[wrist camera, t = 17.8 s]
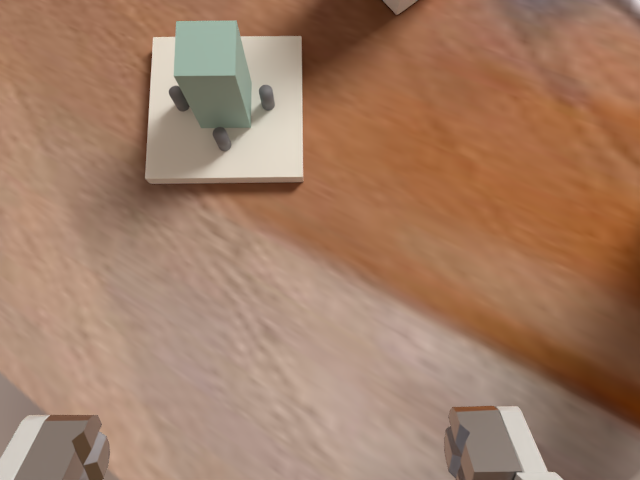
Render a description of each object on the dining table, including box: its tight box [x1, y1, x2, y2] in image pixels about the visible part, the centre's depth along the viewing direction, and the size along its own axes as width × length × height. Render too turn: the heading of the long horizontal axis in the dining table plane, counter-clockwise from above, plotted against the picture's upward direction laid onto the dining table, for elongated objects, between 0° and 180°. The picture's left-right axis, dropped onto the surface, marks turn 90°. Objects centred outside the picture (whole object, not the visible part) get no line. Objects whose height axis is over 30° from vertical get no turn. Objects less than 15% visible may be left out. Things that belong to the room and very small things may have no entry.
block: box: [174, 21, 252, 128], centre depth 41 cm, size 4×4×9 cm
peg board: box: [145, 36, 303, 184], centre depth 45 cm, size 14×14×4 cm
